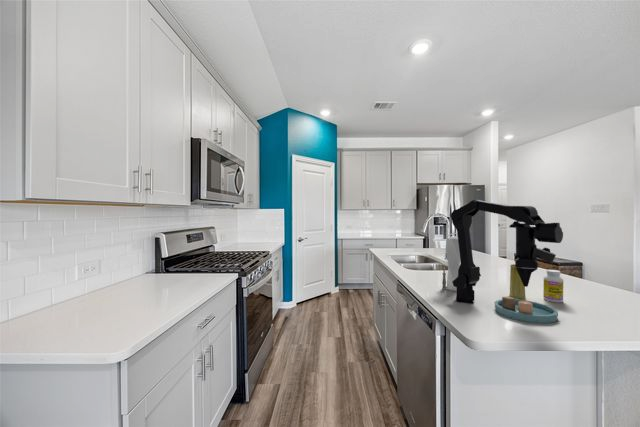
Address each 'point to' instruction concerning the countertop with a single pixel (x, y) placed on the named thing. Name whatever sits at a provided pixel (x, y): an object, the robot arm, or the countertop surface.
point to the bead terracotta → (525, 307)
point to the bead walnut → (508, 303)
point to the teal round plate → (539, 314)
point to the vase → (516, 284)
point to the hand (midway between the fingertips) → (525, 283)
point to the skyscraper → (451, 262)
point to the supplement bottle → (553, 286)
